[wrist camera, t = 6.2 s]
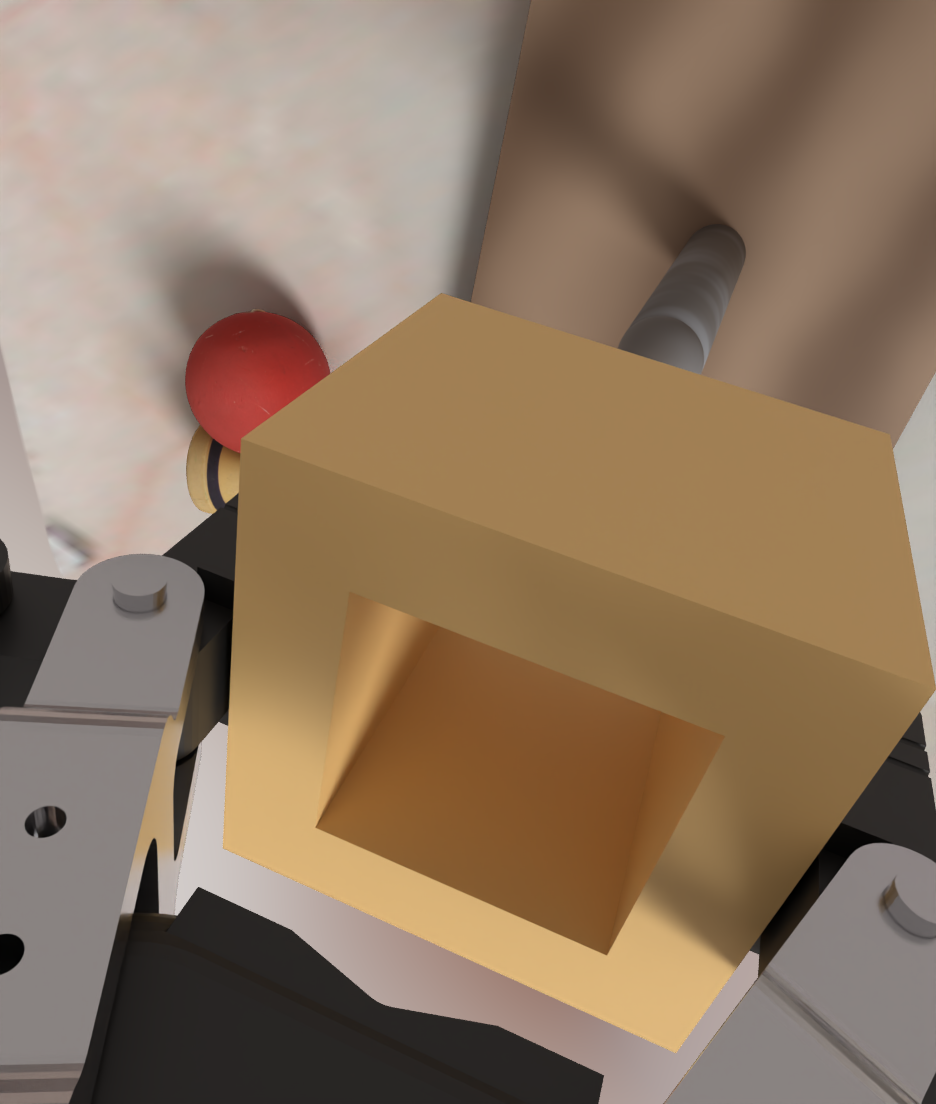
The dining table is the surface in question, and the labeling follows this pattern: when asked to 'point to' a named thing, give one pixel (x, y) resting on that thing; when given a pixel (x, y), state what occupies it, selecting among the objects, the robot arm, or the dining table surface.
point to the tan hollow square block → (562, 654)
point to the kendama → (242, 393)
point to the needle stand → (729, 193)
